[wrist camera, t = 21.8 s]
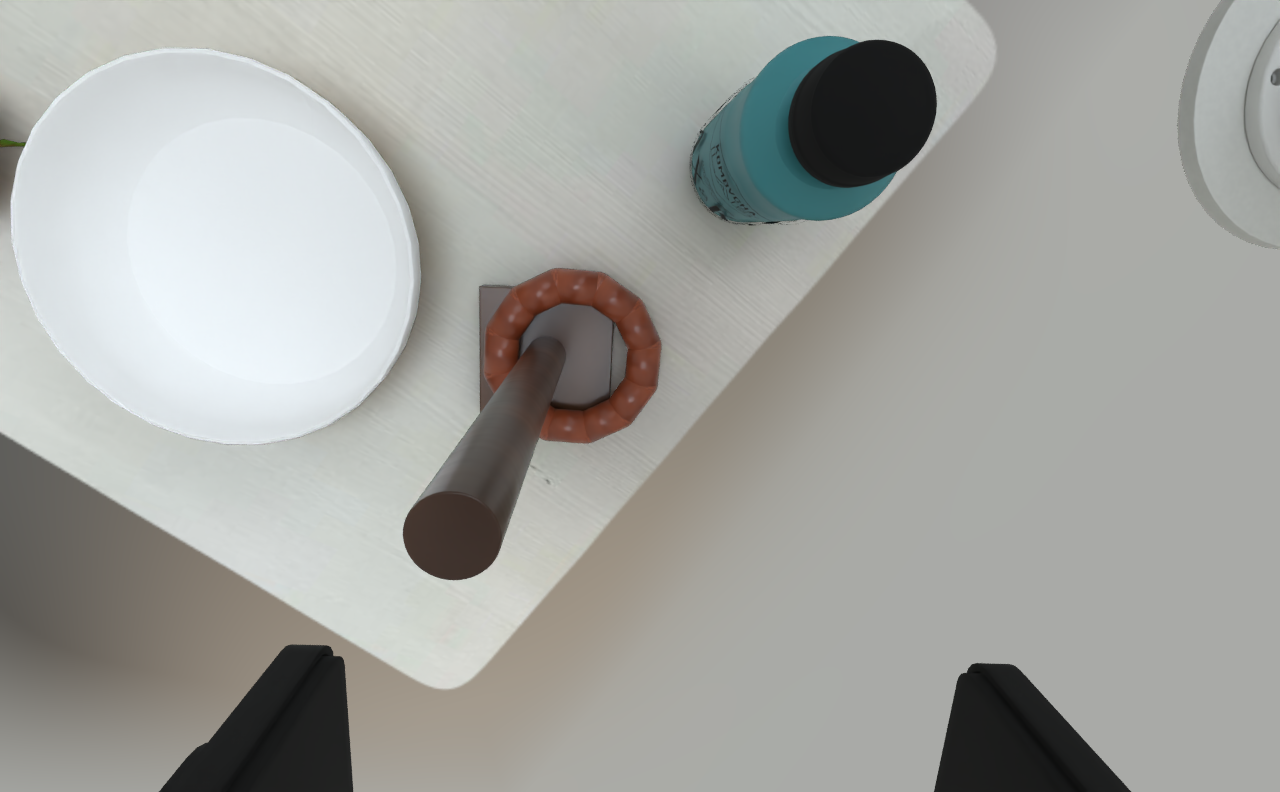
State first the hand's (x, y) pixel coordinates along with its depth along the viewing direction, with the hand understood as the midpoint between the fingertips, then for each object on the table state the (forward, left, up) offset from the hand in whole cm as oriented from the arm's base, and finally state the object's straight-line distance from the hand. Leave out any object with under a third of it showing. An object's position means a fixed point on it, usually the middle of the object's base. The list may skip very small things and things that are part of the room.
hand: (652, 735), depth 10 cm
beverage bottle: (-7, -11, -32) cm, 34 cm away
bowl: (+21, -5, -32) cm, 38 cm away
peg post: (+5, 0, -32) cm, 32 cm away
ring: (+3, 0, -30) cm, 30 cm away
